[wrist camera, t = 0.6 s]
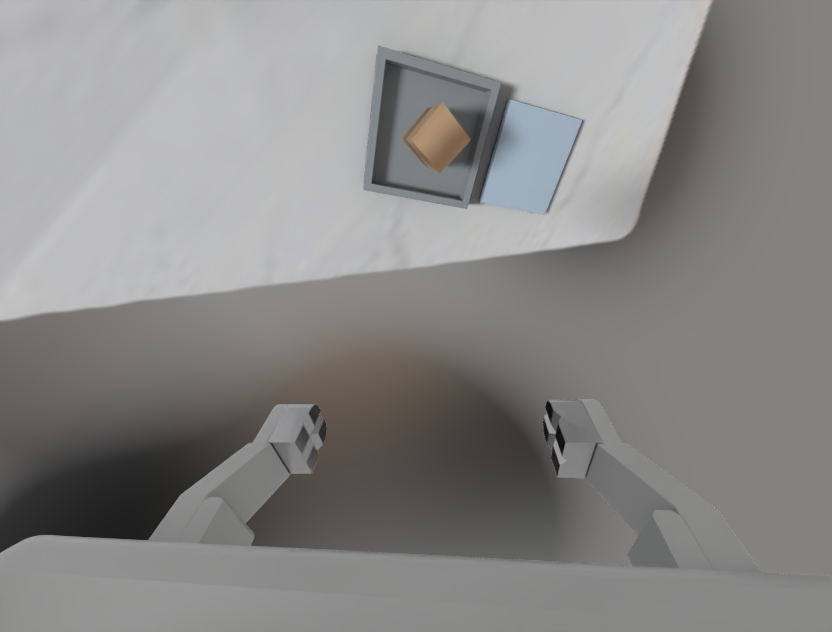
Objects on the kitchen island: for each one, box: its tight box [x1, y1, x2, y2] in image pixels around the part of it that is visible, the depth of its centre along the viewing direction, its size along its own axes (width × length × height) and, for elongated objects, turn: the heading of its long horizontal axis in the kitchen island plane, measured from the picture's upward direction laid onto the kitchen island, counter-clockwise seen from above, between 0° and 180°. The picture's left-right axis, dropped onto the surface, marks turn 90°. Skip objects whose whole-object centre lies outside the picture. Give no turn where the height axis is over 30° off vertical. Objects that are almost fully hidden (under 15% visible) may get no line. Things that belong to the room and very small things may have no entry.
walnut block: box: [401, 102, 471, 173], centre depth 39 cm, size 5×5×10 cm
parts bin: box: [363, 46, 501, 209], centre depth 42 cm, size 16×16×4 cm
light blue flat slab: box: [479, 100, 582, 215], centre depth 47 cm, size 14×12×1 cm
